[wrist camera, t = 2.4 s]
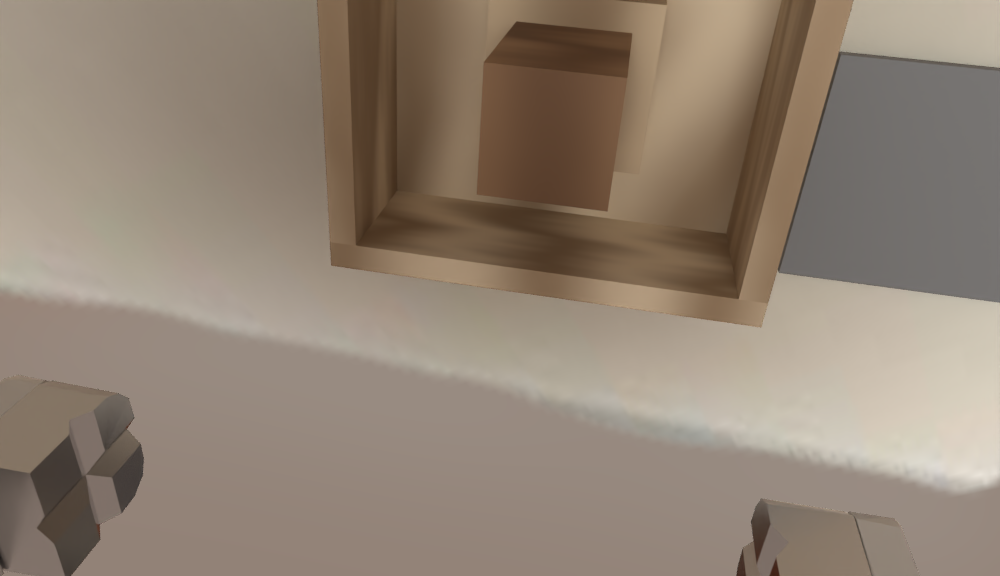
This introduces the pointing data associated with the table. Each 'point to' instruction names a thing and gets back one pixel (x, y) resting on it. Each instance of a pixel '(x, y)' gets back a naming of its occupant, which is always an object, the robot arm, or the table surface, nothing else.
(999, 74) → the felt coaster
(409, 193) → the crate
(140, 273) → the table surface
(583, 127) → the walnut block
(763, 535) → the robot arm
